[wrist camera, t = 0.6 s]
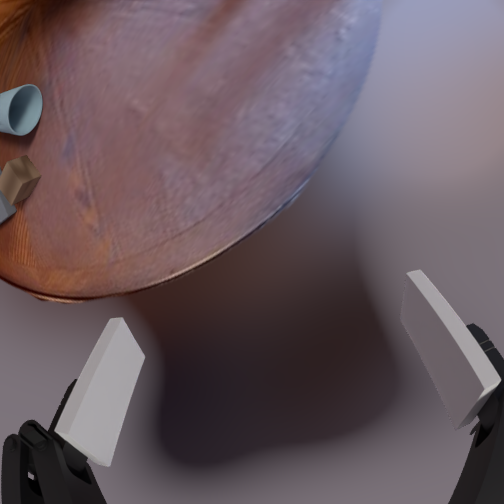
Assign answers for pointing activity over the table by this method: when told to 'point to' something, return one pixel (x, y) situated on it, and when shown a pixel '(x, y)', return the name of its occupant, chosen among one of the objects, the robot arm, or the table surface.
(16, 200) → the walnut block
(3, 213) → the plinth
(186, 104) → the table surface
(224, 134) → the table surface
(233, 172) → the table surface
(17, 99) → the cup
